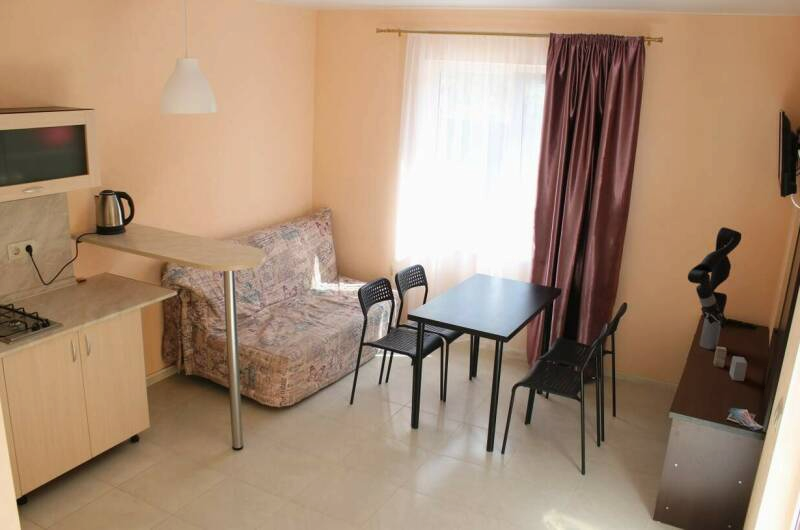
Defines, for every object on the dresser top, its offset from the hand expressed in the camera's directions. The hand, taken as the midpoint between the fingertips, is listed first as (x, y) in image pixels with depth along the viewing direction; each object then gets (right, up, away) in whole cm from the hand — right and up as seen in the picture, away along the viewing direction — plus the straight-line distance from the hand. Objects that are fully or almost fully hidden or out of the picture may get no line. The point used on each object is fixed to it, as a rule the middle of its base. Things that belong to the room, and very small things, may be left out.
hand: (717, 325), depth 383 cm
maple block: (+4, -23, +8) cm, 24 cm away
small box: (+7, -27, -6) cm, 29 cm away
